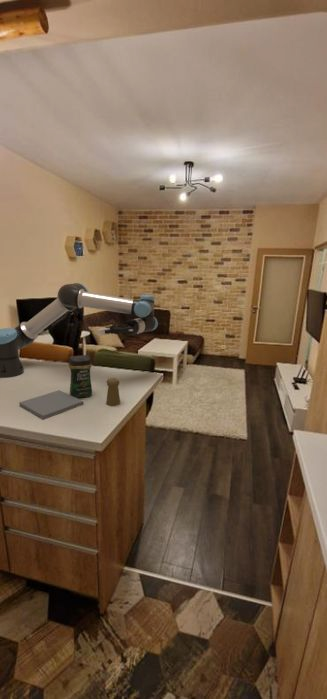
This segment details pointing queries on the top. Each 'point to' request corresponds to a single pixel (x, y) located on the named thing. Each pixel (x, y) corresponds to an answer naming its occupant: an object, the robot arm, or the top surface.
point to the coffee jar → (80, 376)
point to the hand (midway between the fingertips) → (98, 332)
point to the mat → (51, 404)
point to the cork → (113, 392)
